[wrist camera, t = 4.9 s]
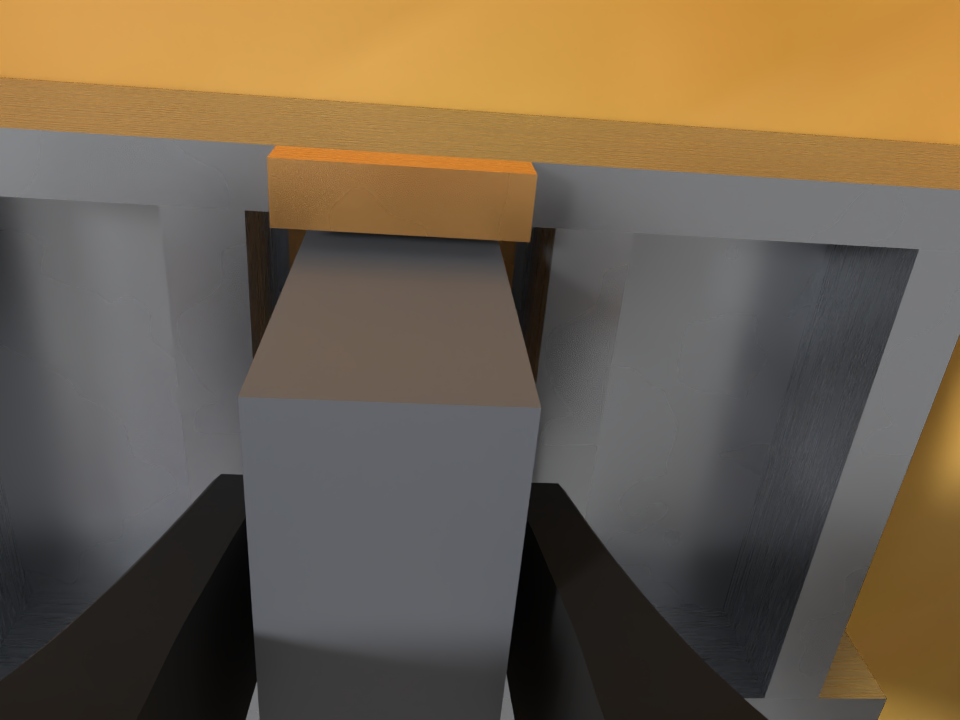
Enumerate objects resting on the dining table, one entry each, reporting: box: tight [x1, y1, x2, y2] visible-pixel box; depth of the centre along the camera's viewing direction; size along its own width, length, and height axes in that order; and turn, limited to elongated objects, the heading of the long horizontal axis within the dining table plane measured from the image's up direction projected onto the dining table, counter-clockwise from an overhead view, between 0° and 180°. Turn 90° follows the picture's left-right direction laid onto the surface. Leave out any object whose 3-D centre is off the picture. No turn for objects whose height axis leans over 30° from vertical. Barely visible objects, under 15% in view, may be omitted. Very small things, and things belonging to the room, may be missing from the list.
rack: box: [0, 78, 960, 720], centre depth 13 cm, size 10×18×4 cm, turn 85°
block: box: [238, 230, 541, 720], centre depth 11 cm, size 7×2×6 cm, turn 175°
